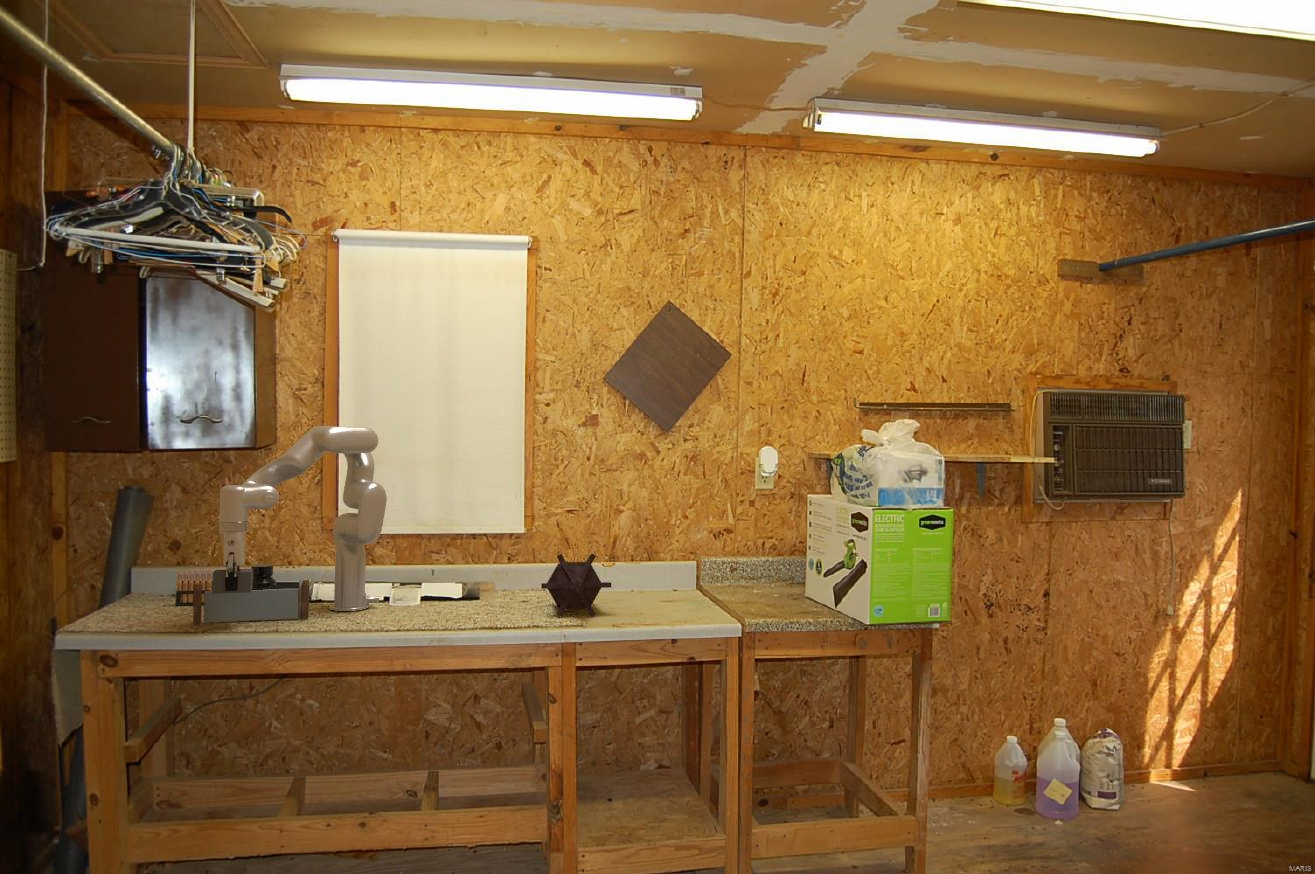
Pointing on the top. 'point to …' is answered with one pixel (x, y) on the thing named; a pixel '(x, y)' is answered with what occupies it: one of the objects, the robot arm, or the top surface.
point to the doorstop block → (243, 581)
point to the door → (251, 605)
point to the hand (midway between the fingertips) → (232, 587)
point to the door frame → (302, 612)
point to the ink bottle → (263, 575)
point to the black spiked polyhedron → (574, 585)
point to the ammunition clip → (191, 587)
